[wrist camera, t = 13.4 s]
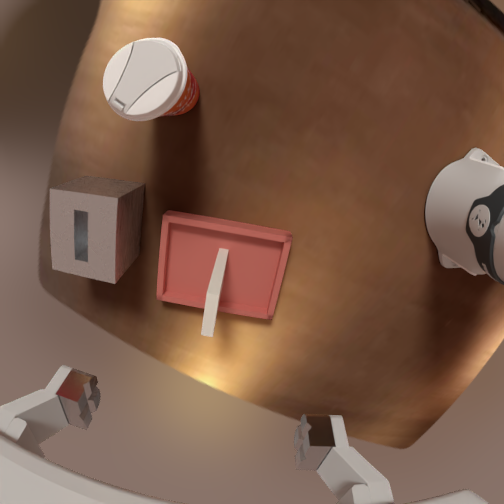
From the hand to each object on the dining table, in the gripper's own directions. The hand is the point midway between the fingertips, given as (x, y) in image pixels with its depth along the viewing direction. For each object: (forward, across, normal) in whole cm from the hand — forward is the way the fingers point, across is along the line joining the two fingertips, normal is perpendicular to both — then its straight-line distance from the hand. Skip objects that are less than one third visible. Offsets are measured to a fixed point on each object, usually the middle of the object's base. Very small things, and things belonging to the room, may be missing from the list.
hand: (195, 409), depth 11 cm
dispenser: (+31, +18, +4) cm, 36 cm away
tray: (+31, +2, +8) cm, 32 cm away
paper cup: (+32, +10, -13) cm, 36 cm away
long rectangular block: (+30, +2, +8) cm, 31 cm away
